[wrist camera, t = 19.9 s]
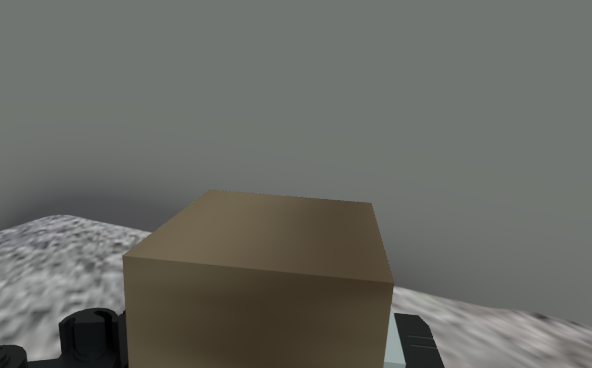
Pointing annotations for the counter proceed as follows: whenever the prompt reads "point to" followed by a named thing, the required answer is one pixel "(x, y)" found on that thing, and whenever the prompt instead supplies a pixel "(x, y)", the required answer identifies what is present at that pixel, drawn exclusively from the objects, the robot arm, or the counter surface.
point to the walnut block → (260, 286)
